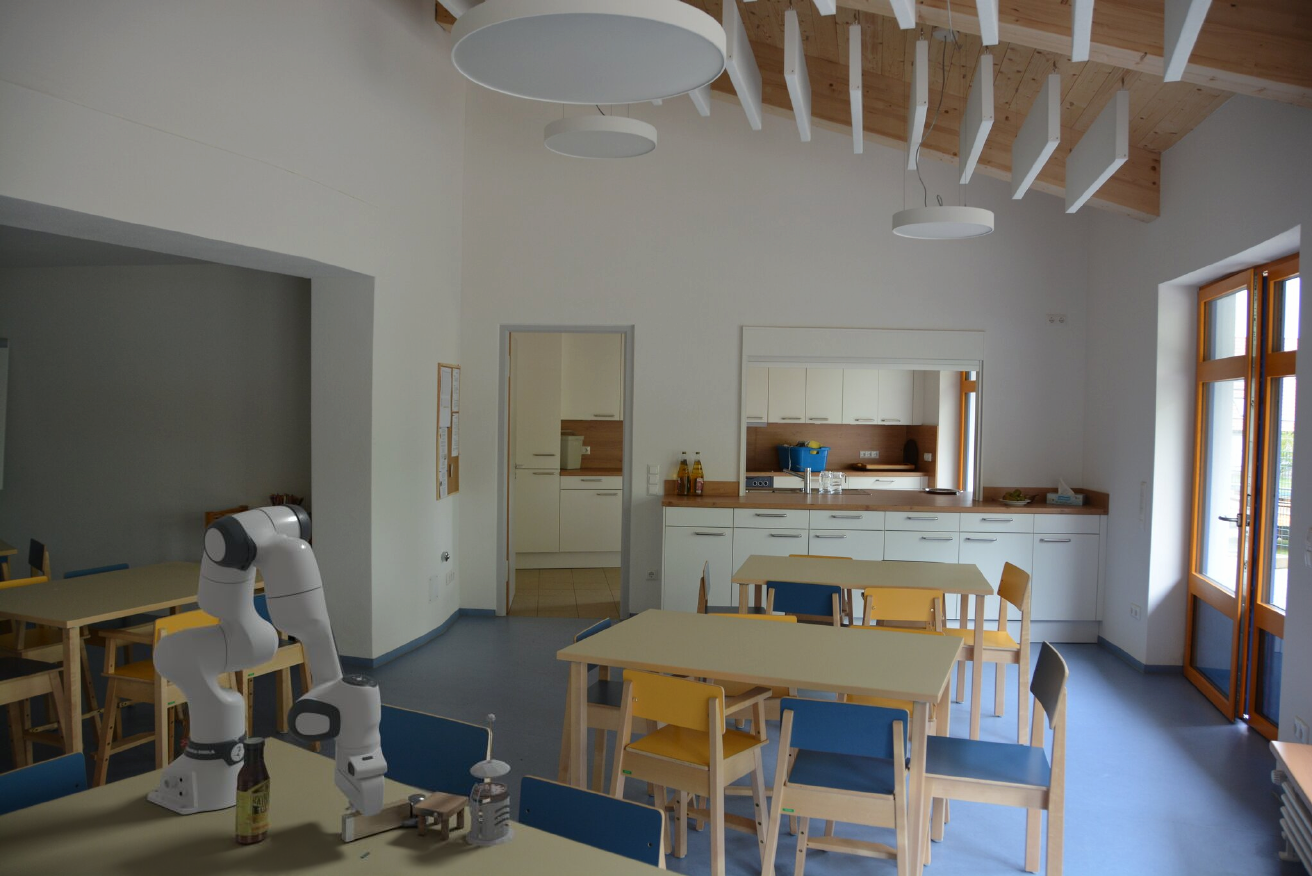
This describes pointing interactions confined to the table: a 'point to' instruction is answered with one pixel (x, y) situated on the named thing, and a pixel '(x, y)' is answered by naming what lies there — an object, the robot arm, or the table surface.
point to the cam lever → (382, 818)
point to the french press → (489, 803)
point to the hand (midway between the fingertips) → (356, 821)
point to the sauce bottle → (252, 794)
